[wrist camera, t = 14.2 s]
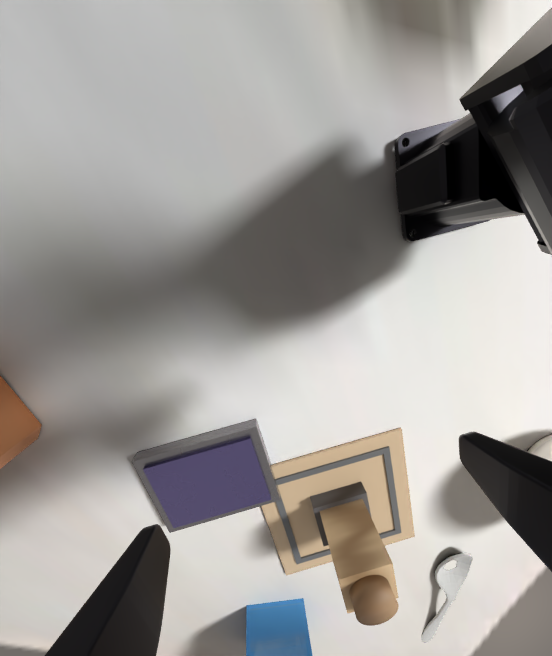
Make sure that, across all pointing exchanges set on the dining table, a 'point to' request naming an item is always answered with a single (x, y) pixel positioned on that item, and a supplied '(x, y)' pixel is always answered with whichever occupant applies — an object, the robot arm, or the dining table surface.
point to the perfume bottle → (277, 629)
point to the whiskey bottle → (15, 424)
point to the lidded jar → (543, 448)
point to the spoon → (448, 588)
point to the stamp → (357, 553)
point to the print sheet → (331, 473)
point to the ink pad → (208, 475)
